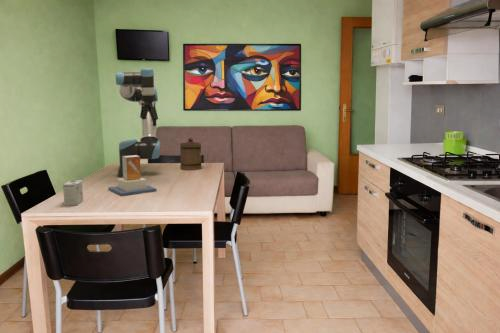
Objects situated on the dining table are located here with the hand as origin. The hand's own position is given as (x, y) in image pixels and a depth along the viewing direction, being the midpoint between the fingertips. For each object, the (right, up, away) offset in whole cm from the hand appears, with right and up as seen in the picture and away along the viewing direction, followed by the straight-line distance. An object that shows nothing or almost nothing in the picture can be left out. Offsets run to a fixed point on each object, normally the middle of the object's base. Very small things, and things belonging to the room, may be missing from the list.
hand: (149, 130), depth 286 cm
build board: (-5, -35, -20) cm, 41 cm away
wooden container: (+18, -23, +54) cm, 62 cm away
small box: (-5, -29, -21) cm, 36 cm away
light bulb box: (-28, -40, -48) cm, 69 cm away
